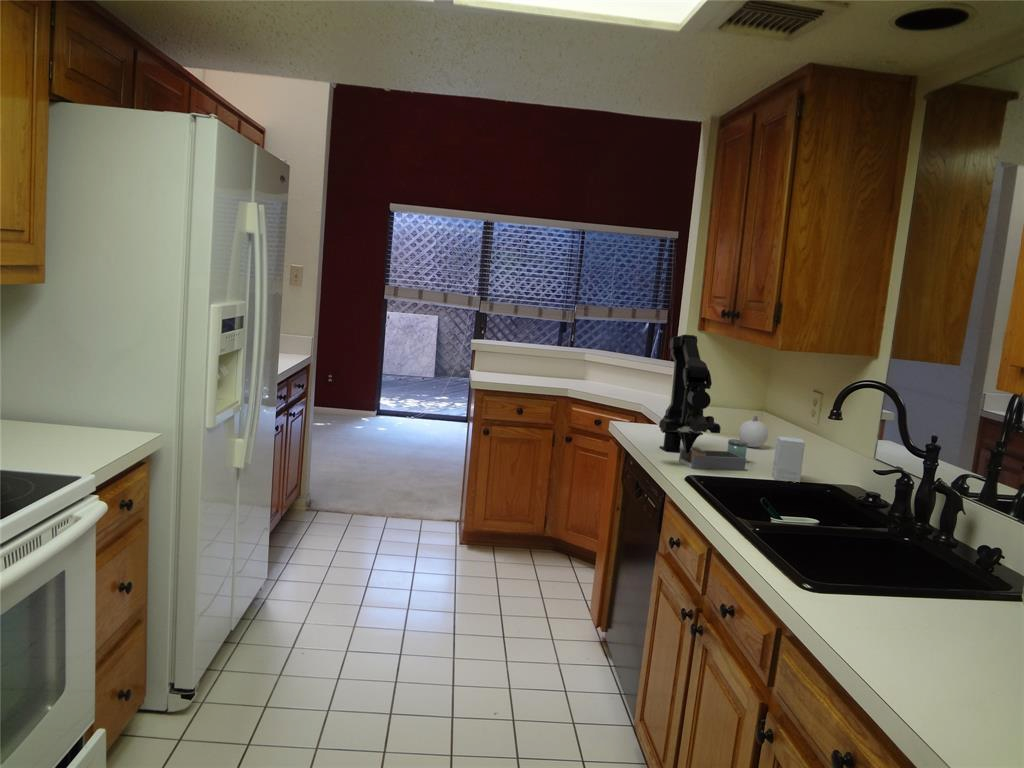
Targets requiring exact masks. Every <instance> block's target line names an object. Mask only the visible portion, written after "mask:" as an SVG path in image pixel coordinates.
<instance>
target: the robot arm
mask: <svg viewBox="0 0 1024 768" xmlns="http://www.w3.org/2000/svg"><path fill="white" fill-rule="evenodd" d="M669 349H670V356H671V358H672V360H673V362H674V364H673V378H672V386H671V387H672V388H671V400H670V404H669V406H668V407H667V408H666V410H665V413H664V415H663V418H661V419H660V421H659V424H658V428H660V432H662V434H664V436H663V437H664V438H663V445H662V446H661V445H660V446H659V448H660V449H662V450H664V451H665V452H671V453H673V452H675V453H680V449H681V443H682V446H683V449H684V450H685V453H689V451H690V450H692V449H691V448H692V447H693V445H694V443H695V442H696V440H697V438H698V437H700V436H703V435H704V433H707V432H708V431H709V432H710V433H711V434H720V433H721V429H722V428H721V426H720V423H717V422H715V417H714V416H712V415H707V416H704V410H705V409H707V408H708V407H709V406H710V404H711V400H712V398H711V396H710V394H709V393H708V392H707V391H706V390H711V387H712V384H713V382H712V376H711V372H710V370H709V369H708V366H707V363H706V362H705V361H703V360H702V358H701V356H700V352H699V347H698V336H697V335H694V334H682V335H676V336H675V335H674V336H673V337H672V338H671V339H670V340H669Z"/></svg>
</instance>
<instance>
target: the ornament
mask: <svg viewBox="0 0 1024 768" xmlns="http://www.w3.org/2000/svg"><path fill="white" fill-rule="evenodd" d="M768 436H769V430H768V427H767V426H766V425H765V423H763V422H762V421H760V420H759V417H758V415H754V416H753V417H752V419H750V420H746V421H744V422H743V423H742V424H741V426H740V428H739V430H738V437H739V438H738V439H739V440H743V441H746V442H748V444H747V448H748V447H749V448H760V447H762V446H764V445H765V443H766V442H767V441H768Z"/></svg>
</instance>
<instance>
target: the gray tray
mask: <svg viewBox="0 0 1024 768" xmlns="http://www.w3.org/2000/svg"><path fill="white" fill-rule="evenodd" d="M702 450H703V449H702ZM703 451H705V452H707V453H706V456H693V457H692V463H691V462H690V461H691V452H692V449H690V451H689V453H685V450H684V448H680V452H679V456H678V462H680V463H682V464H683V465H685V466H686V467H688V468H690V469H693V470H714V471H715V470H719V471H745V470H746V463H747V462H746V461H747V457H745V458H744V457H742V456H740V455H737V454H735V453H733V452H731V451H728V450H724V451H723V450H711V449H709V450H707V449H704V450H703Z"/></svg>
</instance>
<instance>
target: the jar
mask: <svg viewBox="0 0 1024 768" xmlns="http://www.w3.org/2000/svg"><path fill="white" fill-rule="evenodd" d="M747 444H748V442H746V441H743V440H740V439H735V438H733V439H732V438H731V439H728V442H727V451H731V452H733V453H735V454H737V455H740V456H742V457H744V458H747V457H746V456H747V450H748V449H747V448H748V446H747Z"/></svg>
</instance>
